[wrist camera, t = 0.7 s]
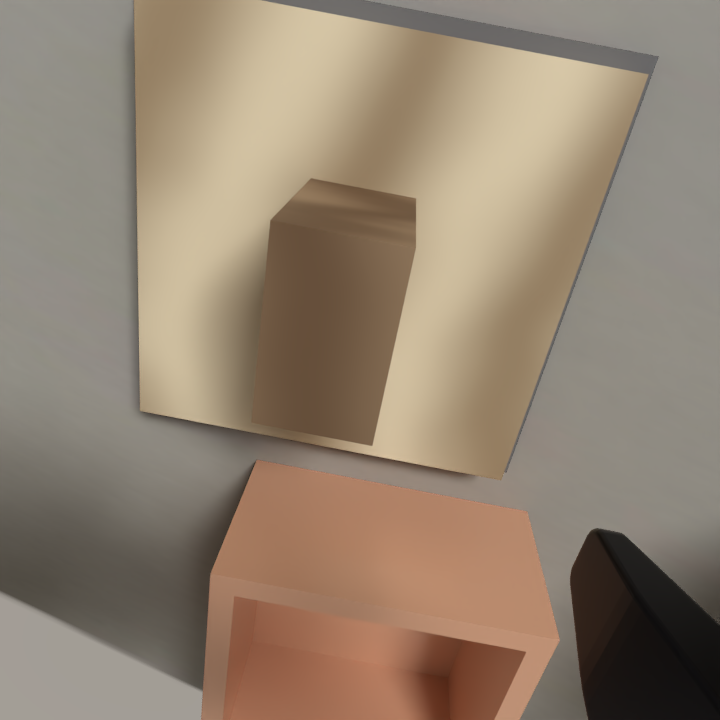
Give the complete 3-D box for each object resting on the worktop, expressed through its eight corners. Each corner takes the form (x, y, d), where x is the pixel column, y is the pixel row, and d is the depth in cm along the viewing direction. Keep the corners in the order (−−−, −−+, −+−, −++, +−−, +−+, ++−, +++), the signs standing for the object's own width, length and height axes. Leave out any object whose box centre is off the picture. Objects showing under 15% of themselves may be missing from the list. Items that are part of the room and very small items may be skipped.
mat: (653, 56, 15) (658, 56, 15) (504, 465, 22) (506, 472, 21) (141, -41, 15) (135, -44, 15) (145, 396, 22) (140, 402, 21)
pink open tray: (526, 507, 23) (559, 640, 18) (459, 675, 28) (469, 817, 23) (258, 456, 23) (210, 573, 18) (239, 633, 28) (198, 766, 23)
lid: (632, 73, 15) (755, 76, 10) (496, 459, 21) (525, 596, 16) (153, -18, 15) (3, -67, 10) (154, 393, 21) (61, 507, 16)
